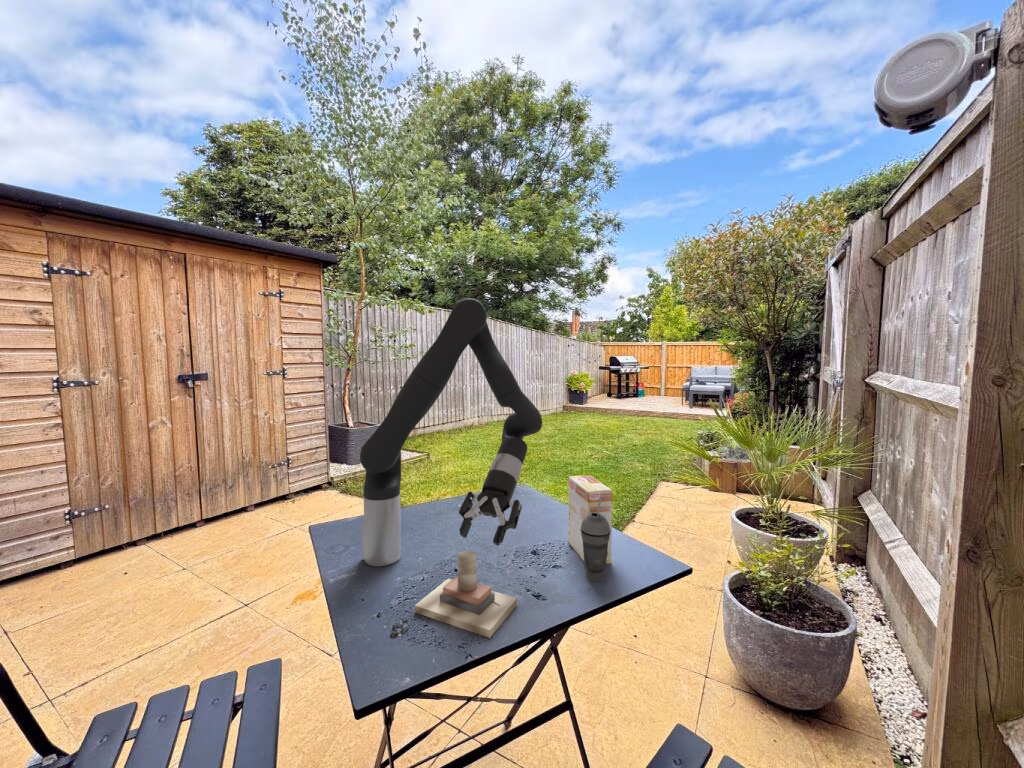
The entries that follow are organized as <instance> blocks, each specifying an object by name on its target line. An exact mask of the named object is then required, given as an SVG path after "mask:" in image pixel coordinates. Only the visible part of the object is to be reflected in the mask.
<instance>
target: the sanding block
mask: <svg viewBox="0 0 1024 768" xmlns="http://www.w3.org/2000/svg"><path fill="white" fill-rule="evenodd" d="M477 560H478V559H477V553H476V552H475V551H472V550H463V551H460V552H459V553H457V576H455V577H454V578H453V579H452V581H450V582H449V583H448V584H446V585H445V586H444V587H443V592H442V593H441V594H440V602H443V603H446V604H449V605H452V606H455V607H458V608H460V609H463V610H466V611H469V612H472V613H475V614H478V615H480V614H481V613H482V612H483V611H484V610H485V609H486V608H487V607H488V606H489V605H490V604H491V603H492V602H493V601H494V600H495V593H493V592H491V591H492V586H489V585H488V584H487V585H486V584H483V583H480V582H478V580H477V579H478V577H477V575H478V574H477V570H478V569H477Z"/></svg>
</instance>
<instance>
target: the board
mask: <svg viewBox="0 0 1024 768" xmlns="http://www.w3.org/2000/svg"><path fill="white" fill-rule="evenodd" d="M452 580H453V579H452V578H447V579H446V580H444V581H443V582H442V583H441V584H439V585H438V586H437V587H436V588H435V589H433V590H432V591H431V592H429V594H428V593H427V595H426V596H424V597H423V598H422V599H421V600H420V601H419V602H417V603H416V604H414V613H416V614H419V615H422V616H424V617H428V618H430V619H433V620H435V621H439V622H442V623H444V624H445V623H446V624H447V625H451V626H453V627H456V628H459V629H463V630H466V631H469V632H471V633H474V634H477V635H480V636H483V637H486V638H491V637H492V636H493V635H494V634H495V632H496V631H497V630H498V629H499V628H500V626H501V625H502V624H503V623H504V622H505V620H507V618H508V616H509V615H510V614H511V613H512V612H513V610H514V609H515V608H516V606H517V605H518V597H517V596H511V595H508V594H505V593H501V592H498V591H493V590H491V592H493V593H495V600H494V601H493V602H492V603H491V604H490V605H489V606H488V607H487V608H486V609H485V610H484V611H483V612H482V613H481V614H480V615H478V614H475V613H472V612H469V611H466V610H463V609H460V608H458V607H455V606H452V605H449V604H446V603H443V602H440V594H441V593H442V592H443V587H444V586H445V585H446V584H448V583H449V582H450V581H452Z"/></svg>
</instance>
